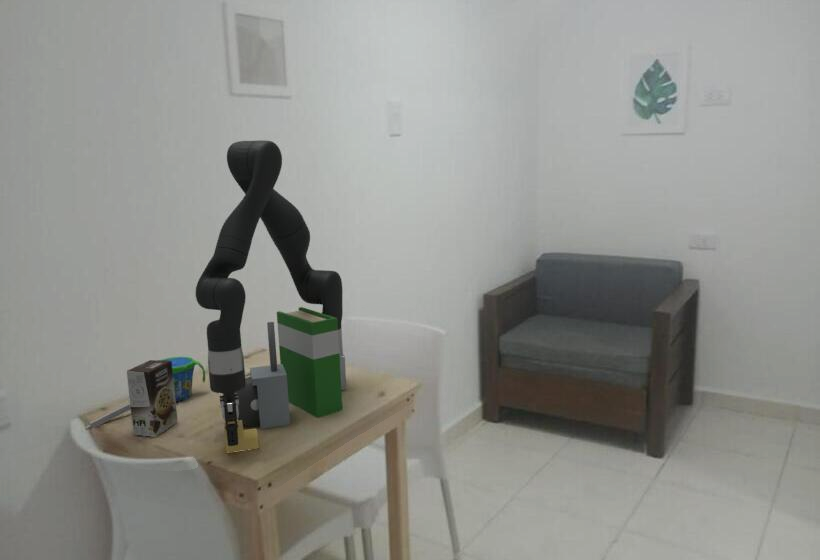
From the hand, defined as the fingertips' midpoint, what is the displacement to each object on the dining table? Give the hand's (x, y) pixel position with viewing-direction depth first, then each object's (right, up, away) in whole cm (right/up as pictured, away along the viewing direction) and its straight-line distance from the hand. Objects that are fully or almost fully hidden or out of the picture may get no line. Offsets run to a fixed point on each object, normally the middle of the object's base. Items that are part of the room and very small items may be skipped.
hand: (232, 437), depth 148 cm
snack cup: (-24, +3, +34) cm, 41 cm away
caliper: (-33, 0, +22) cm, 40 cm away
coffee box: (-22, -1, +13) cm, 25 cm away
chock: (+2, -3, +1) cm, 3 cm away
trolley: (+3, 0, +15) cm, 15 cm away
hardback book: (+14, +2, +25) cm, 29 cm away
